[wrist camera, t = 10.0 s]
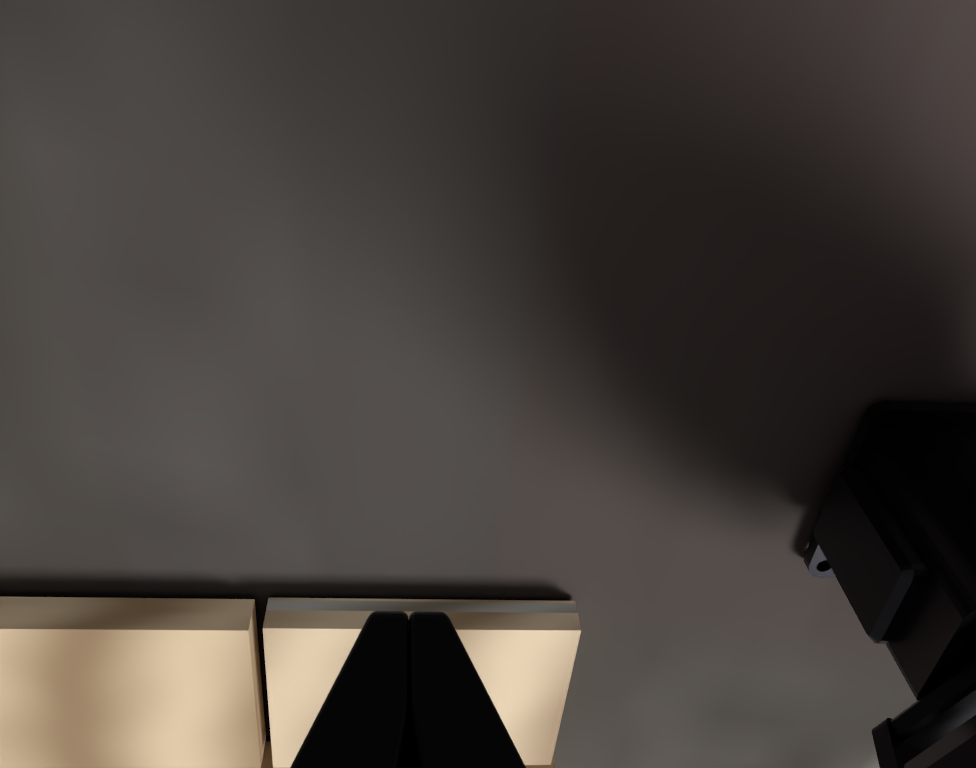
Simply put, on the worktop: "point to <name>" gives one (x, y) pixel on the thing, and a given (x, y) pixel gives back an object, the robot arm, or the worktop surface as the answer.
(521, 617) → the plank
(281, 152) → the worktop surface
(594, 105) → the worktop surface
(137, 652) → the plank
